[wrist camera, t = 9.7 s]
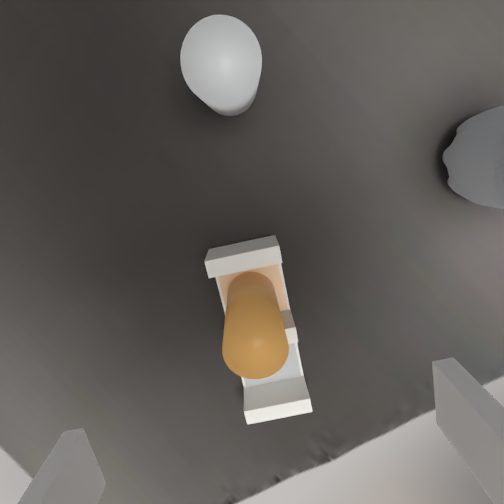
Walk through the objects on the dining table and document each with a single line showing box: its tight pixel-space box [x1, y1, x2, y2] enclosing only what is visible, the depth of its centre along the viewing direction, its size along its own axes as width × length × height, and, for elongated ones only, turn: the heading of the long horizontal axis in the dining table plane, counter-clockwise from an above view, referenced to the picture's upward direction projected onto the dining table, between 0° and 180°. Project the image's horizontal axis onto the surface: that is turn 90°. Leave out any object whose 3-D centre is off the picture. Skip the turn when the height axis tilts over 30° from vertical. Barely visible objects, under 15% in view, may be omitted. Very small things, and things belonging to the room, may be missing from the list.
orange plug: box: [222, 272, 289, 379], centre depth 23 cm, size 4×4×8 cm
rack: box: [204, 235, 312, 425], centre depth 27 cm, size 13×5×3 cm, turn 12°
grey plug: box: [180, 15, 262, 116], centre depth 20 cm, size 4×4×8 cm
